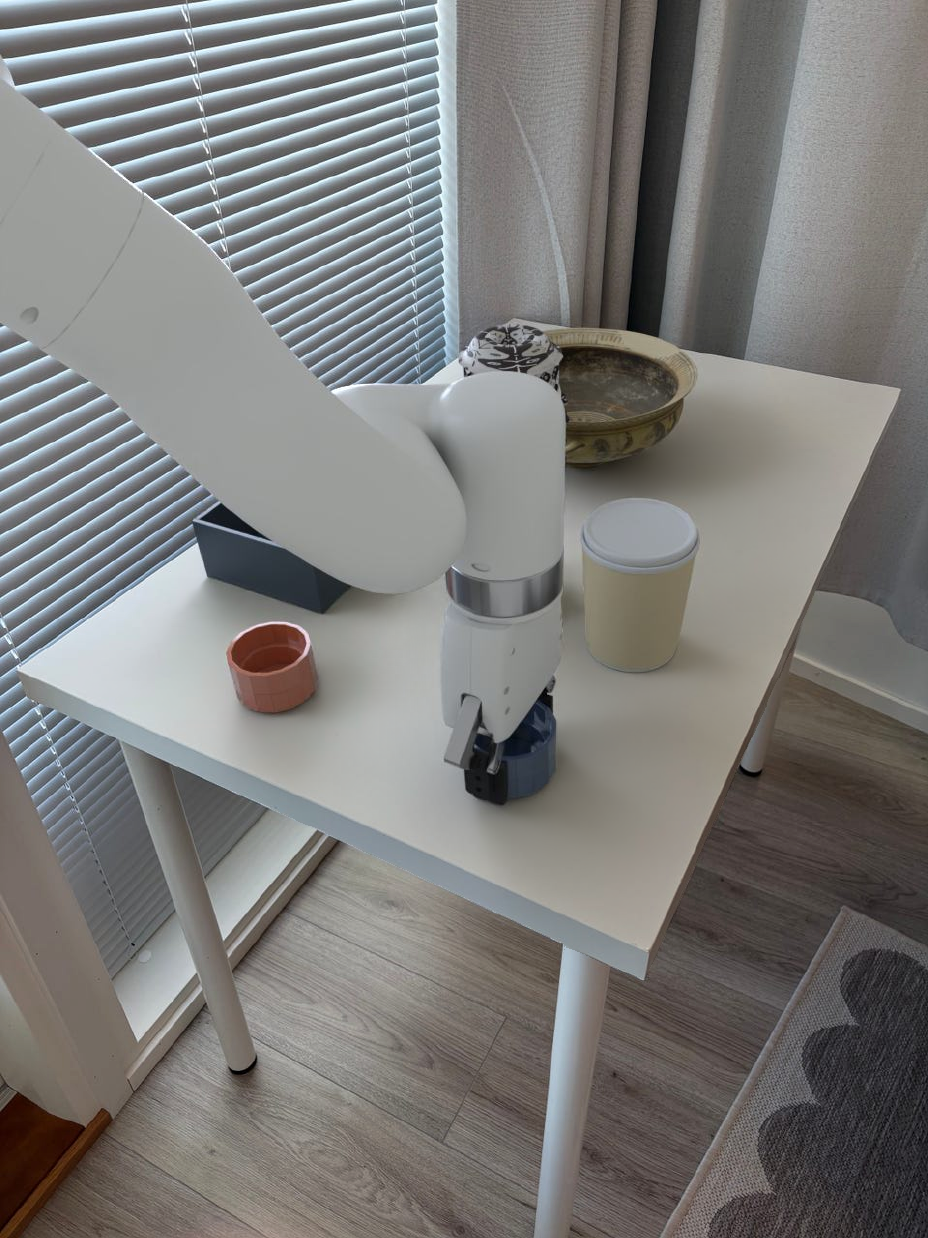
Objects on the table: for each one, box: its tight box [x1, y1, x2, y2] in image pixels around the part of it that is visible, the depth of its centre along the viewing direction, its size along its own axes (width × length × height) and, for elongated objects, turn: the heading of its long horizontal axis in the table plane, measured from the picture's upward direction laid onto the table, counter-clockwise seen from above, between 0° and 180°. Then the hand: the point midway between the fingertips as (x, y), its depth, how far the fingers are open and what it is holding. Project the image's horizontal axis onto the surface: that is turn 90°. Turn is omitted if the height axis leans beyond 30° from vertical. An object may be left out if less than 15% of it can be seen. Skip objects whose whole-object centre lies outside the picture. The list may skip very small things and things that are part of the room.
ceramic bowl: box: [541, 327, 698, 468], centre depth 106 cm, size 30×24×10 cm
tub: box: [191, 500, 352, 615], centre depth 93 cm, size 14×14×6 cm
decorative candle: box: [458, 323, 570, 462], centre depth 80 cm, size 9×9×25 cm
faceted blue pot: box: [474, 699, 557, 799], centre depth 70 cm, size 7×7×4 cm
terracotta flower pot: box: [225, 621, 319, 714], centre depth 79 cm, size 7×7×4 cm
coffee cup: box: [579, 497, 701, 673], centre depth 78 cm, size 9×9×12 cm
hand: (510, 760), depth 71 cm, fingers closed on faceted blue pot, 6 cm apart
